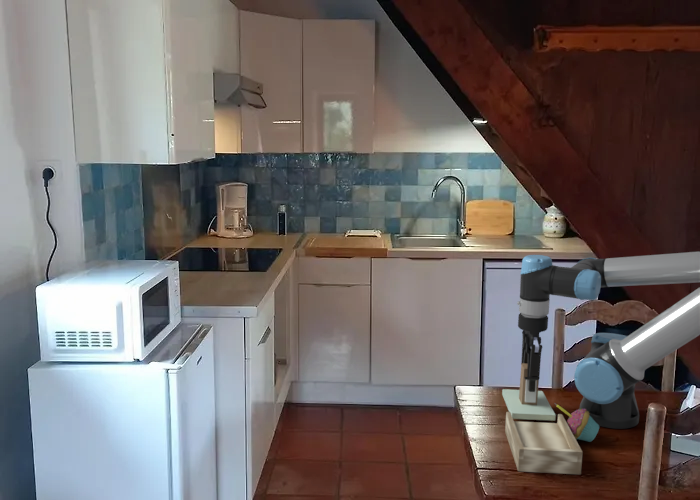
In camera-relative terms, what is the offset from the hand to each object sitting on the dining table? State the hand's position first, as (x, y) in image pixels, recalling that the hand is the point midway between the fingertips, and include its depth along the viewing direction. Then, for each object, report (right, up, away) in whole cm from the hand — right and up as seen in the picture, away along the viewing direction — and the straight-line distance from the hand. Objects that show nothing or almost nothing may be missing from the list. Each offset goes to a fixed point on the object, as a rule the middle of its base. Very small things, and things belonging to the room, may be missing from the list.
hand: (528, 398), depth 178 cm
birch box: (-2, -9, -17) cm, 20 cm away
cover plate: (0, -2, 0) cm, 3 cm away
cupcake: (+13, -6, -13) cm, 19 cm away
